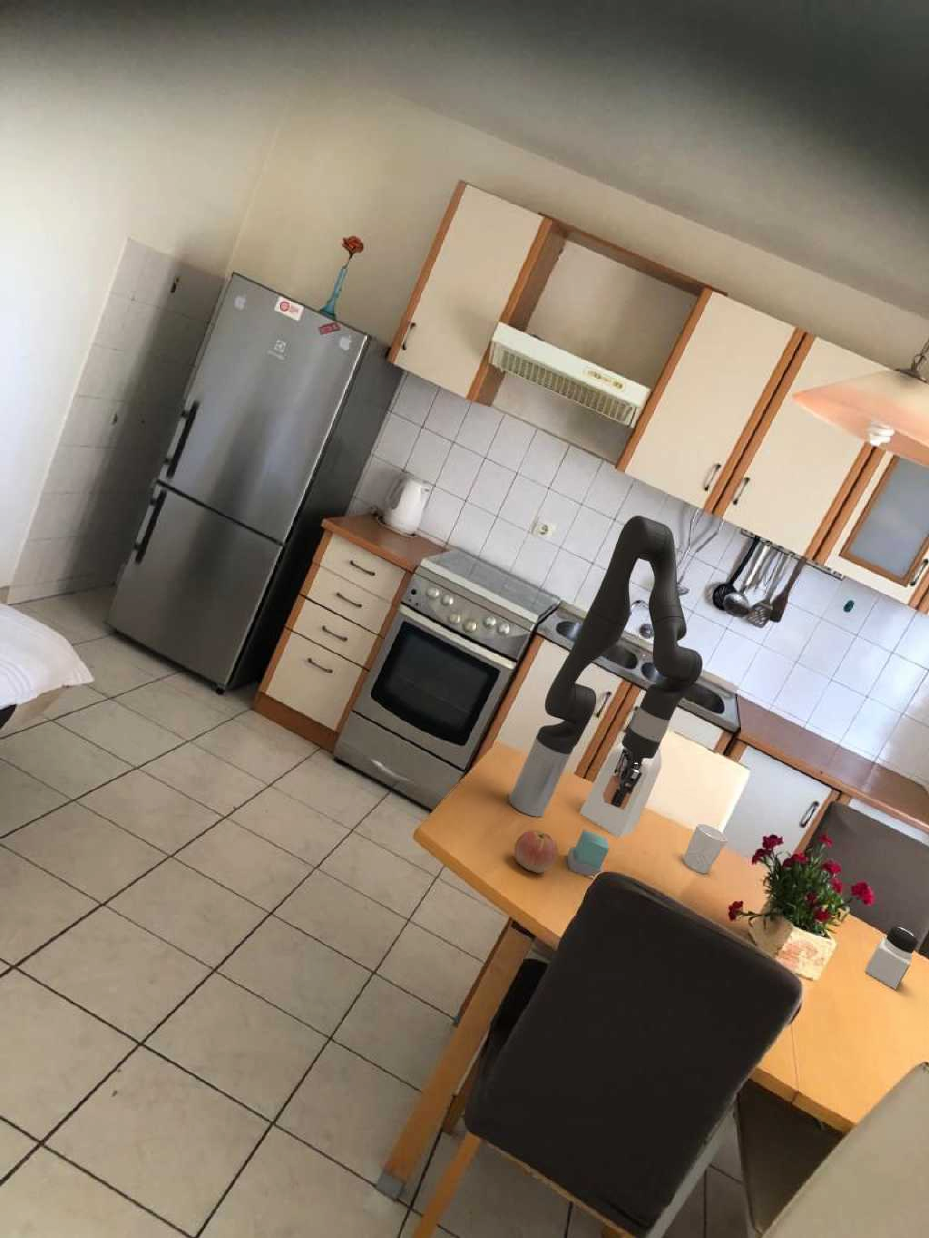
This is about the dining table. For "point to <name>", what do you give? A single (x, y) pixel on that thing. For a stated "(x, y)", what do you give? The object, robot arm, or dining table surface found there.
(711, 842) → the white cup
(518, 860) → the apple
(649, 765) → the milk
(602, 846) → the brick teal
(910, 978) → the dining table surface
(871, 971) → the medicine bottle
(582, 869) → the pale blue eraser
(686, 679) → the robot arm
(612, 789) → the brick terracotta
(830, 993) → the dining table surface
